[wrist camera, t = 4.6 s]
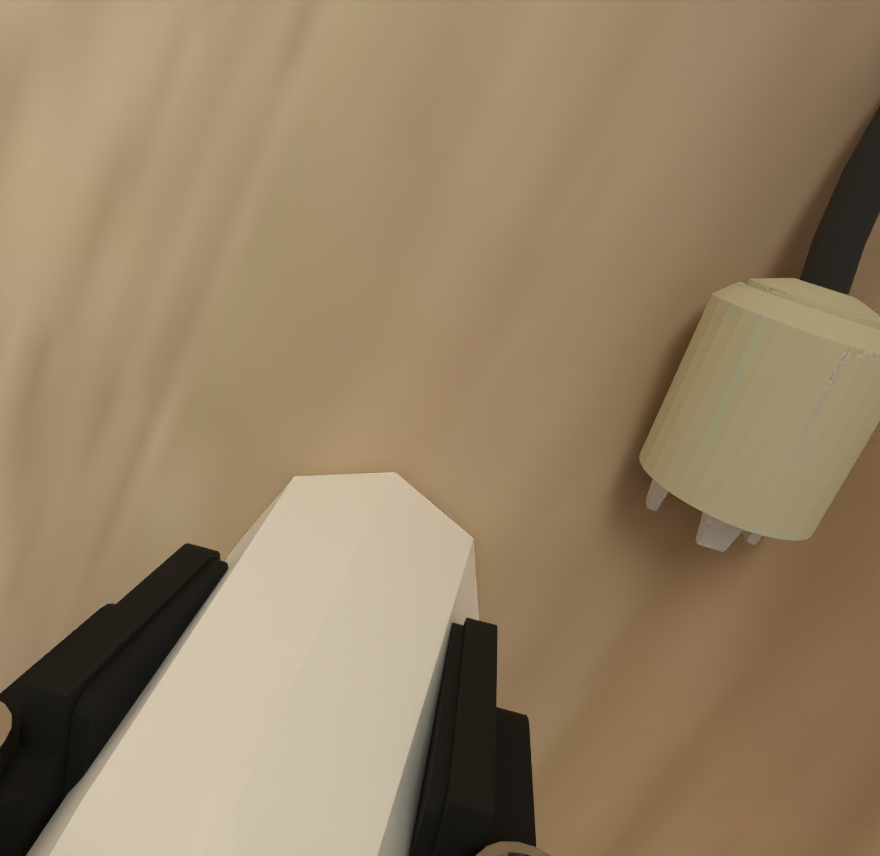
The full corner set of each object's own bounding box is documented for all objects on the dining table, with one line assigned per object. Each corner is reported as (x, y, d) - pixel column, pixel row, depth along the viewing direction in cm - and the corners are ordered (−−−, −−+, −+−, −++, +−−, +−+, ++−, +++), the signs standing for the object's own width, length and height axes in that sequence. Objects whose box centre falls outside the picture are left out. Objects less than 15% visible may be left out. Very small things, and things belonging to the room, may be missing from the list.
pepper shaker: (210, 647, 14) (-618, 1723, 4) (270, 426, 13) (-781, 1137, 2) (440, 728, 14) (260, 2052, 4) (524, 513, 13) (624, 1651, 2)
